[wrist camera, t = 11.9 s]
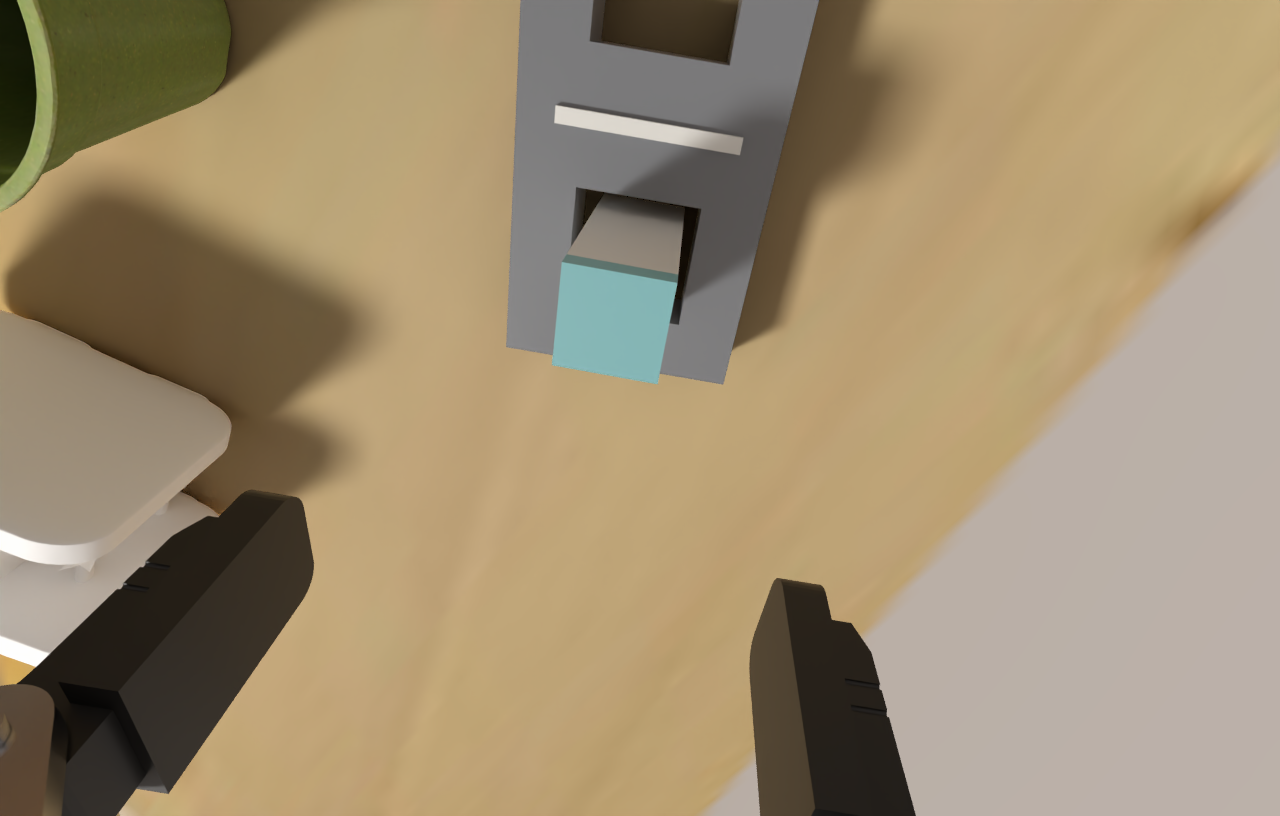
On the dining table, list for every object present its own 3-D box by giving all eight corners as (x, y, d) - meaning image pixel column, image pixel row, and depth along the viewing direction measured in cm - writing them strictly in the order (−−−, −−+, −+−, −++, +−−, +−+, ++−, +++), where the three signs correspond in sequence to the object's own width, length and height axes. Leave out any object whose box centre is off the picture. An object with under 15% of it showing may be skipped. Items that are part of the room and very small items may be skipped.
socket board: (553, -233, 21) (530, -273, 18) (850, -181, 21) (873, -214, 18) (522, 320, 31) (505, 348, 28) (721, 355, 31) (723, 386, 28)
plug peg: (604, 193, 28) (561, 262, 19) (684, 207, 28) (677, 282, 19) (594, 271, 29) (551, 365, 21) (670, 284, 30) (657, 384, 21)
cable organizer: (269, 416, 36) (101, 565, 26) (238, 535, 41) (88, 697, 31) (-12, 288, 33) (-322, 399, 23) (-8, 432, 38) (-259, 574, 28)
